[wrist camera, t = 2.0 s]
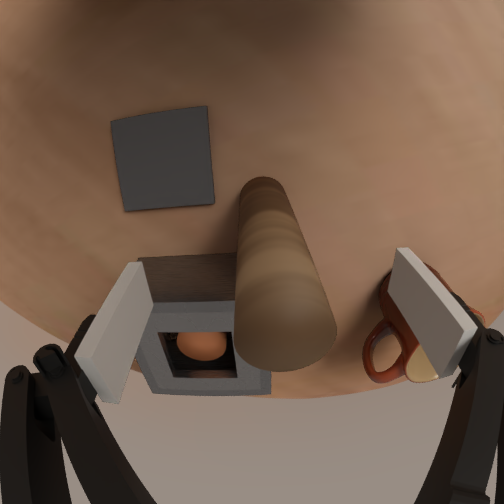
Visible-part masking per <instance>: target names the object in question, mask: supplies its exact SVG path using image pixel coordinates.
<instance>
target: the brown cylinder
mask: <svg viewBox="0 0 504 504" xmlns="http://www.w3.org/2000/svg"><path fill="white" fill-rule="evenodd" d="M336 335H337V326H336V322H335V319H334V316H333V314H332V311H331V308H330V305H329V302H328V300H327V297H326V294H325V291H324V289H323V286H322V283H321V281H320V278H319V275H318V273H317V270H316V267H315V265H314V262H313V260H312V257H311V254H310V252H309V249H308V247H307V244H306V242H305V239H304V237H303V234H302V232H301V229H300V227H299V224H298V222H297V219H296V217H295V215H294V212H293V210H292V207H291V205H290V202H289V200H288V198H287V195H286V193H285V191H284V189H283V187H282V185H281V184H280V183H279V182H278V181H276V180H275V179H273V178H270V177H256V178H254V179H252V180H250V181H249V182H247V183H246V184H245V186H244V187H243V189H242V191H241V195H240V210H239V228H238V247H237V268H236V289H235V312H234V336H233V340H234V347H235V349H236V352H237V353H238V355H239V356H240V357H241V358H242V359H243V360H244V361H245V362H247V363H248V364H250V365H252V366H254V367H256V368H259V369H262V370H266V371H273V372H285V371H293V370H297V369H301V368H304V367H306V366H309V365H311V364H313V363H315V362H316V361H318V360H319V359H321V358H322V357H323V356H324V355H325V354H326V353H327V352H328V351H329V350H330V349H331V347H332V345H333V344H334V341H335V339H336Z"/></svg>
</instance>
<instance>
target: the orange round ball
mask: <svg viewBox="0 0 504 504" xmlns="http://www.w3.org/2000/svg"><path fill="white" fill-rule="evenodd" d="M226 342H227V332H178V337H177V345H178V348H179V349H180V351H181V352H182V353H184V354H185V355H186V356H188V357H190V358H192V359H195V360H201V361H209V360H214V359H217V358H219V357H220V356H222V355H223V354H224V352H225V350H226Z"/></svg>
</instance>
